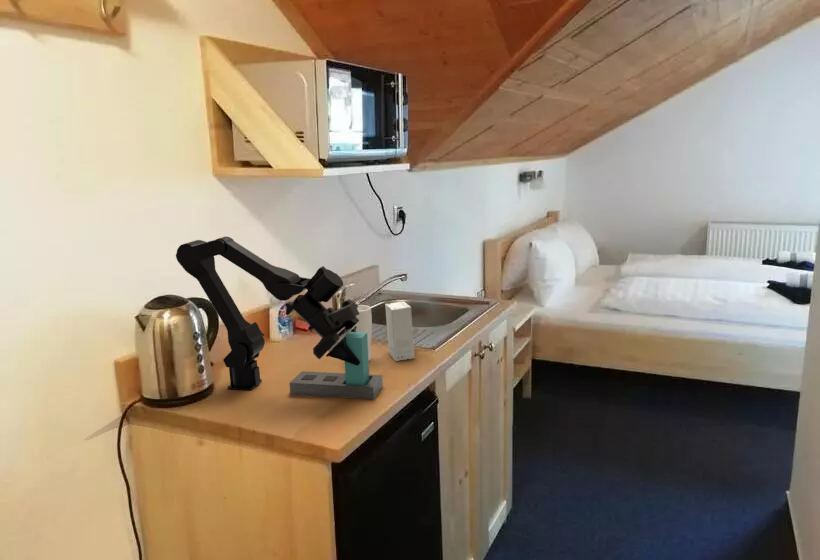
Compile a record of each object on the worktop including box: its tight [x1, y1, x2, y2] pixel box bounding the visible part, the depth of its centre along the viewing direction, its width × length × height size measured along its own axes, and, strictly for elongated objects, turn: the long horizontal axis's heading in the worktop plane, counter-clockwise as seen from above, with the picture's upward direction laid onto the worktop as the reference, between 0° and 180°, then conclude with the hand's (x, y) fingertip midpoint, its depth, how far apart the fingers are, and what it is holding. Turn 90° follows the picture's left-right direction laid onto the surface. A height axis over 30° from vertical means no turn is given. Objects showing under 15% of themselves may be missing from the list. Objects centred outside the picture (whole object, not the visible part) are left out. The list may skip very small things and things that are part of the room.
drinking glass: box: [352, 304, 373, 361], centre depth 175 cm, size 7×7×15 cm
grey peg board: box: [289, 370, 384, 400], centre depth 156 cm, size 21×8×3 cm, turn 77°
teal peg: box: [343, 332, 370, 385], centre depth 153 cm, size 4×4×13 cm
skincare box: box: [384, 301, 416, 362], centre depth 178 cm, size 8×6×15 cm
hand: (362, 360), depth 153 cm, fingers closed on teal peg, 4 cm apart
